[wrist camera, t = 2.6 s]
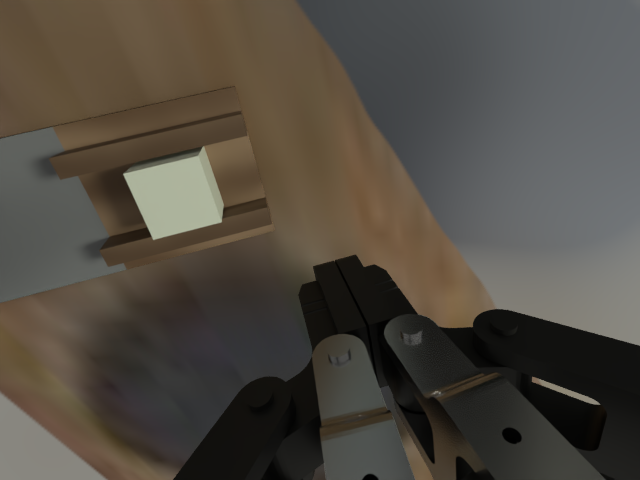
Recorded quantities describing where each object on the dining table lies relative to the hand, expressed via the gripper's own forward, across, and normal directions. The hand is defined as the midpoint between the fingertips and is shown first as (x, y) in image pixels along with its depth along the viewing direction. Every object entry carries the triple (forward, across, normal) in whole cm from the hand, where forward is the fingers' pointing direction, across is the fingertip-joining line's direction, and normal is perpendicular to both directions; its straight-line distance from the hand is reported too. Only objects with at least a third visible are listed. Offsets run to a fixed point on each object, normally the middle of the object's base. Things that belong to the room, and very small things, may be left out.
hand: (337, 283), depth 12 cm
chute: (+20, +8, 0) cm, 22 cm away
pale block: (+19, +8, 0) cm, 21 cm away
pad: (+20, +20, 0) cm, 29 cm away
